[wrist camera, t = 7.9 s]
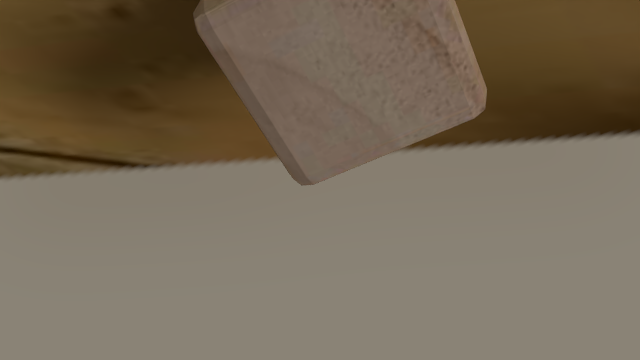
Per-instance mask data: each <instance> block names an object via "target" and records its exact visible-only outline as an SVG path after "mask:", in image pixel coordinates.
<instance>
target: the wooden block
mask: <svg viewBox="0 0 640 360" xmlns="http://www.w3.org/2000/svg"><path fill="white" fill-rule="evenodd" d="M193 16H194V21H195V26H196V31H197V33H198V34H199V36H200V37H201V39H202V41H203V42H204V44H205V45H206V47H207V48H208V50H209V51H210V53H211V54H212V56H213V57H214V59H215V60H216V62H217V64H218V65H219V67H220V68H221V70H222V71H223V73H224V74H225V76H226V77H227V79H228V80H229V82H230V83H231V85H232V87H233V88H234V90H235V91H236V93H237V94H238V96H239V97H240V99H241V100H242V102H243V103H244V105H245V106H246V108H247V110H248V111H249V113H250V114H251V116H252V117H253V119H254V120H255V122H256V123H257V125H258V126H259V128H260V129H261V131H262V133H263V134H264V136H265V137H266V139H267V140H268V142H269V143H270V145H271V146H272V148H273V149H274V151H275V152H276V154H277V156H278V157H279V159H280V160H281V162H282V163H283V164H284V166H285V168H286V169H287V171H288V172H289V174H290V175H291V176H292V178H293V179H294V180H295V181H297V182H298V183H299V184H301V185H313V184H316V183H319V182H321V181H323V180H326V179H328V178H331V177H333V176H335V175H337V174H340V173H343V172H345V171H348V170H350V169H352V168H355V167H357V166H360V165H362V164H365V163H367V162H370V161H372V160H374V159H377V158H379V157H382V156H384V155H386V154H389V153H391V152H394V151H396V150H399V149H401V148H403V147H406V146H408V145H411V144H413V143H416V142H418V141H420V140H423V139H425V138H428V137H430V136H433V135H435V134H437V133H440V132H442V131H445V130H447V129H450V128H452V127H454V126H457V125H459V124H462V123H464V122H467V121H469V120H471V119H474V118H475V117H476V116H478V115H479V114H480V113H481V112H483V111H484V110H485V104H486V95H487V88H486V85H485V82H484V79H483V77H482V74H481V71H480V68H479V66H478V63H477V60H476V57H475V55H474V52H473V49H472V46H471V44H470V41H469V38H468V36H467V33H466V30H465V27H464V25H463V22H462V19H461V16H460V14H459V11H458V8H457V5H456V3H455V0H200V2H199V3H198V5H197V7H196V9H195V11H194V12H193Z"/></svg>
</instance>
